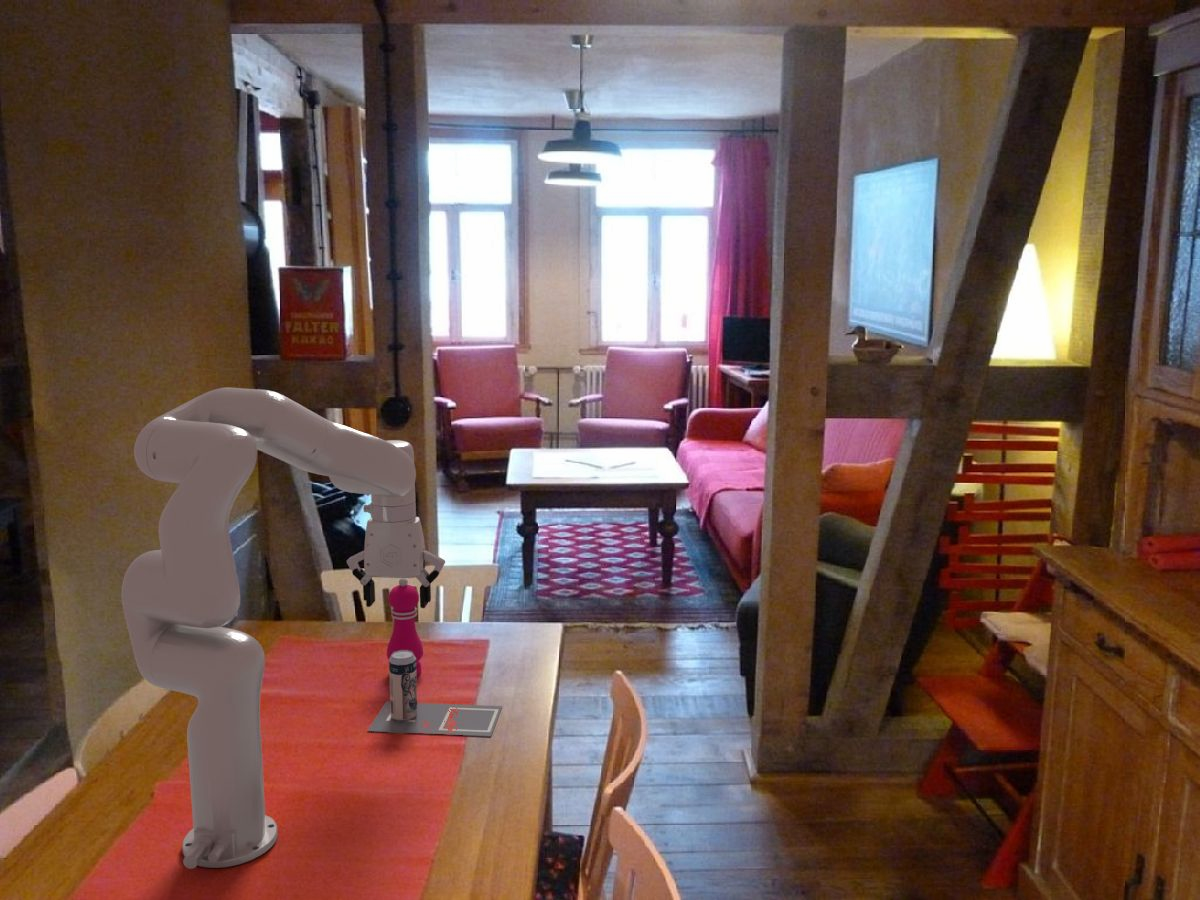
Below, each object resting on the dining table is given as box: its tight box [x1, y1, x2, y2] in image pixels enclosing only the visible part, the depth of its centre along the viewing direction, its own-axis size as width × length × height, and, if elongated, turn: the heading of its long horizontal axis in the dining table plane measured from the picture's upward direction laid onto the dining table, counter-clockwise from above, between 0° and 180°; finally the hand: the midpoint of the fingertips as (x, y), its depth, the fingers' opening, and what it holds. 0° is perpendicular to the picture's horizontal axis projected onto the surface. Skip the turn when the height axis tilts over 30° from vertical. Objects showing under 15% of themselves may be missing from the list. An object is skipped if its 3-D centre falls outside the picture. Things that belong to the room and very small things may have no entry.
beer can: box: [388, 650, 418, 721], centre depth 177 cm, size 5×5×12 cm
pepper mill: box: [386, 578, 424, 677], centre depth 196 cm, size 7×7×20 cm
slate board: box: [366, 701, 503, 738], centre depth 178 cm, size 12×22×1 cm, turn 86°
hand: (397, 604), depth 174 cm, fingers open, 9 cm apart
